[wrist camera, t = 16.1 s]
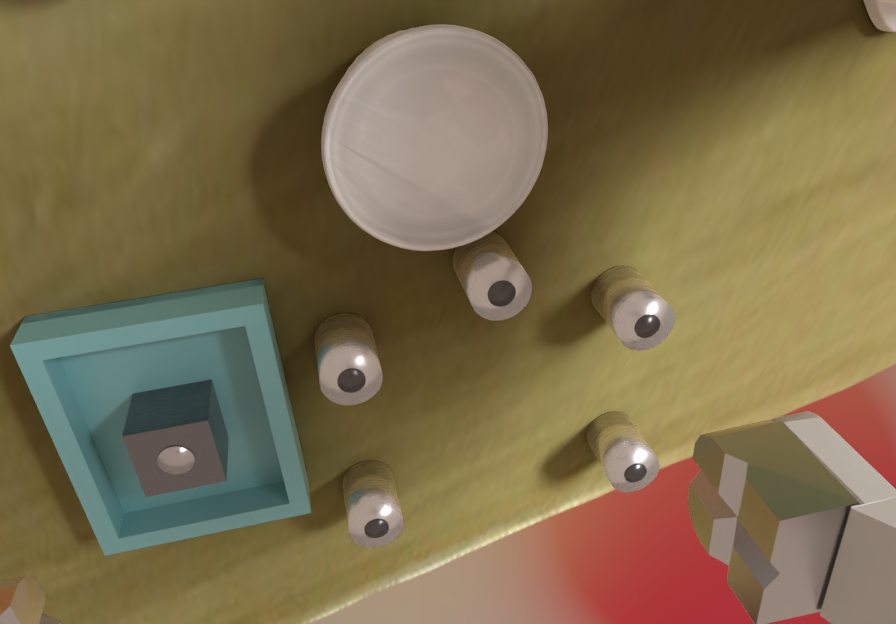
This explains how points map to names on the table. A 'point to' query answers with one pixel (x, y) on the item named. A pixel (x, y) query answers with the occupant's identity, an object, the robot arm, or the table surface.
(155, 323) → the tray
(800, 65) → the table surface
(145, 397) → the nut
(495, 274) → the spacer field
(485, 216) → the ramekin
